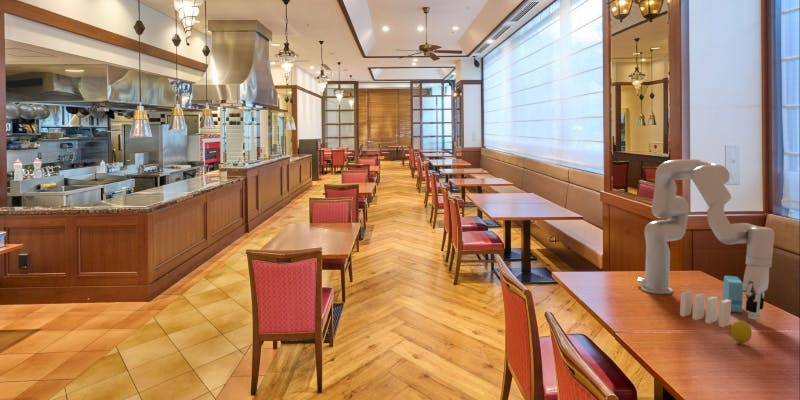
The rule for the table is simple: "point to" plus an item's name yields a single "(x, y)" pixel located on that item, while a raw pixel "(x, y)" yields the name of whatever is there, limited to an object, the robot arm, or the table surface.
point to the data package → (733, 292)
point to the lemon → (741, 332)
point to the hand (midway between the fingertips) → (754, 309)
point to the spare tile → (755, 315)
